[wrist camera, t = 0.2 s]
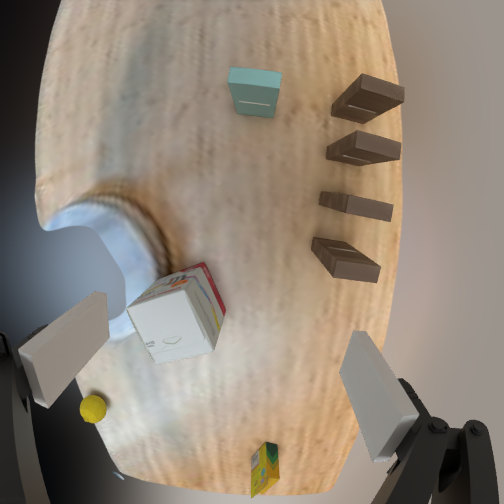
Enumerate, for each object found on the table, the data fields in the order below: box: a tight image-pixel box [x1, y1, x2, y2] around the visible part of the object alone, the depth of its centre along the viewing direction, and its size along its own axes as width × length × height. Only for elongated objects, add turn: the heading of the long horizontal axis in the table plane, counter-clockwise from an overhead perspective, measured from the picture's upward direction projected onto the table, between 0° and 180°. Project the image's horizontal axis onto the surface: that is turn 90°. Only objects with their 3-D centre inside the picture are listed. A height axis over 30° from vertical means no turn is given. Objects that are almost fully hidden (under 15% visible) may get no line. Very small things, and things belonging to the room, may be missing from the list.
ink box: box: [126, 262, 226, 365], centre depth 37 cm, size 9×9×12 cm
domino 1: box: [228, 67, 282, 118], centre depth 30 cm, size 2×5×13 cm, turn 82°
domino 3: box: [326, 130, 401, 166], centre depth 31 cm, size 2×5×13 cm, turn 82°
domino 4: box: [319, 192, 393, 222], centre depth 33 cm, size 2×5×13 cm, turn 82°
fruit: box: [80, 395, 107, 423], centre depth 45 cm, size 6×6×8 cm
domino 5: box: [311, 237, 381, 283], centre depth 34 cm, size 2×5×13 cm, turn 82°
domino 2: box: [331, 74, 404, 124], centre depth 30 cm, size 2×5×13 cm, turn 82°
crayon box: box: [251, 442, 280, 498], centre depth 45 cm, size 7×3×12 cm, turn 155°
